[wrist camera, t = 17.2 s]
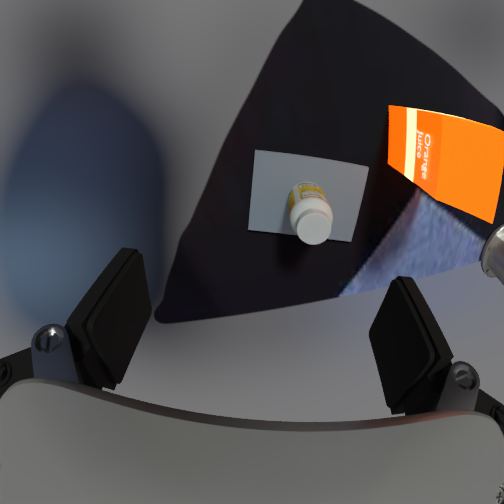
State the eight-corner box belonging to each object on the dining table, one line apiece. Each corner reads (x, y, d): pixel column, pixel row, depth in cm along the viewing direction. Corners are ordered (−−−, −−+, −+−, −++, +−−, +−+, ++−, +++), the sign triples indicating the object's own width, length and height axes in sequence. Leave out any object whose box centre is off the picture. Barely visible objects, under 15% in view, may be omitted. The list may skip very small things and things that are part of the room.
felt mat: (367, 166, 36) (368, 167, 36) (350, 239, 42) (350, 241, 42) (255, 149, 37) (255, 150, 36) (248, 227, 43) (248, 229, 42)
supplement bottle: (310, 173, 37) (320, 197, 29) (331, 202, 39) (346, 232, 31) (279, 196, 39) (281, 225, 31) (302, 222, 41) (308, 257, 33)
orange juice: (433, 111, 30) (529, 139, 13) (430, 166, 35) (514, 225, 18) (387, 104, 31) (476, 122, 14) (386, 164, 36) (463, 225, 19)
